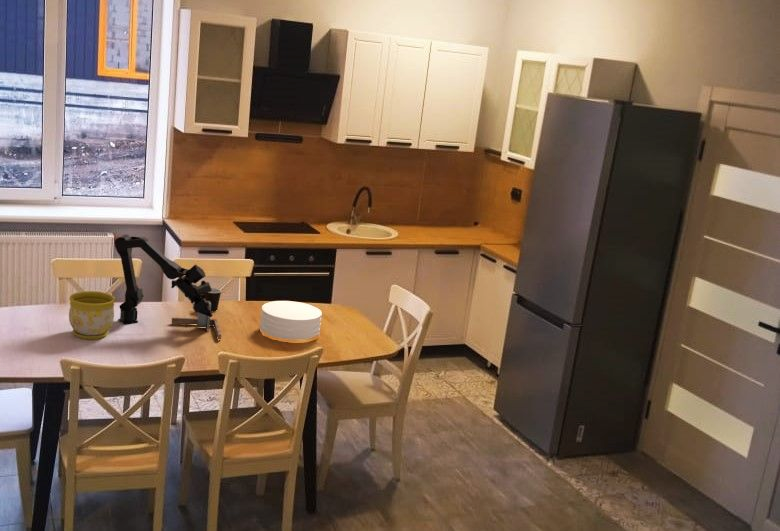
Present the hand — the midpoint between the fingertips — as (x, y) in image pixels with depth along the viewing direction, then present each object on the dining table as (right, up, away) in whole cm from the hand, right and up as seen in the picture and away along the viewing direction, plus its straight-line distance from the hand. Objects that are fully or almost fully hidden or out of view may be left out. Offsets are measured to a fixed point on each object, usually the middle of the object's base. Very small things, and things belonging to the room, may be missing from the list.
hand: (210, 313), depth 360 cm
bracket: (-4, -8, +1) cm, 9 cm away
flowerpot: (-46, -8, -24) cm, 52 cm away
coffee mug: (-7, 0, +31) cm, 32 cm away
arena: (-6, -8, -3) cm, 11 cm away
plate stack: (+34, -10, +13) cm, 38 cm away
